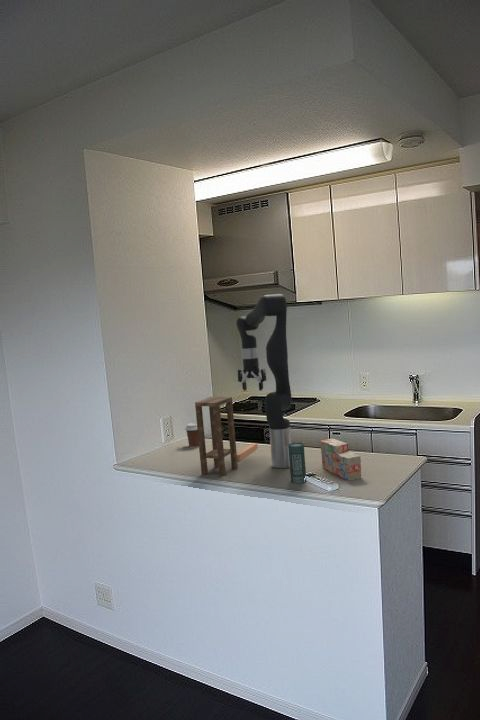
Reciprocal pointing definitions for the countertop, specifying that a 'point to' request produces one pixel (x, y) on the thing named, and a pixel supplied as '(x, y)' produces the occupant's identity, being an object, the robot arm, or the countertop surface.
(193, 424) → the coffee cup
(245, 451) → the bar
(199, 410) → the stool
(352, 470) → the stack of blocks
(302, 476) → the can
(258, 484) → the countertop surface
